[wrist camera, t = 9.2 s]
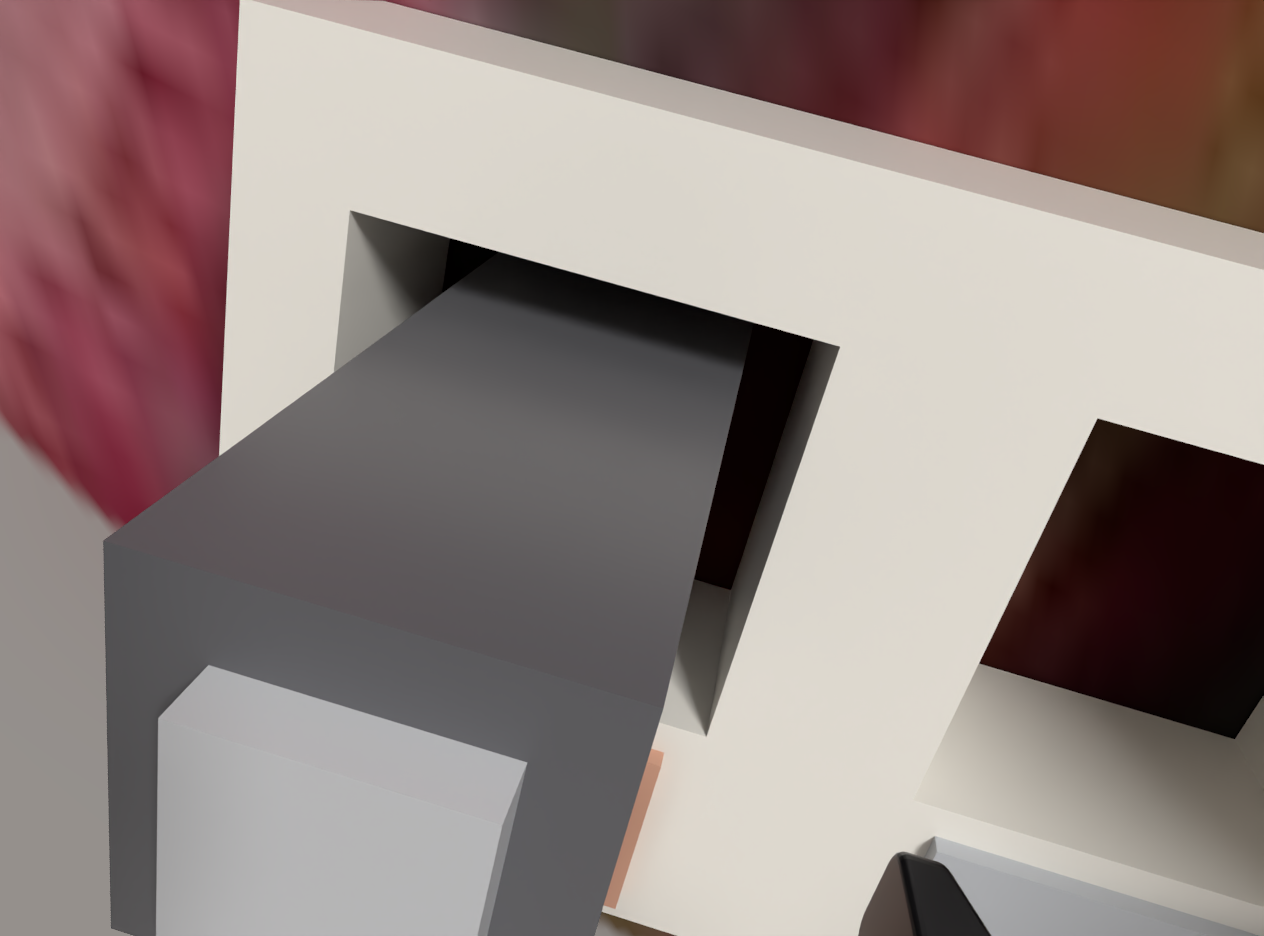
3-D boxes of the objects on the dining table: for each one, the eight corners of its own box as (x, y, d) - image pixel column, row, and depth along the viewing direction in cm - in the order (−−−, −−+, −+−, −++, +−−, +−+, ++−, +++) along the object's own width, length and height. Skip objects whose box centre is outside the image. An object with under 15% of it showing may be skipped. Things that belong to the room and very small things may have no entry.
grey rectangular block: (757, 306, 16) (650, 771, 6) (694, 523, 17) (533, 1145, 8) (513, 241, 16) (41, 584, 6) (476, 461, 18) (63, 989, 8)
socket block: (1634, 331, 14) (1956, 458, 10) (1209, 920, 19) (1307, 1154, 15) (384, 0, 15) (225, -4, 11) (315, 645, 20) (193, 797, 16)
